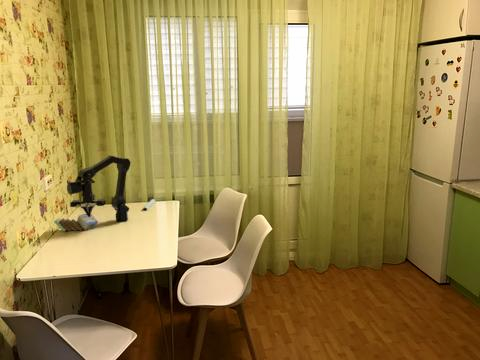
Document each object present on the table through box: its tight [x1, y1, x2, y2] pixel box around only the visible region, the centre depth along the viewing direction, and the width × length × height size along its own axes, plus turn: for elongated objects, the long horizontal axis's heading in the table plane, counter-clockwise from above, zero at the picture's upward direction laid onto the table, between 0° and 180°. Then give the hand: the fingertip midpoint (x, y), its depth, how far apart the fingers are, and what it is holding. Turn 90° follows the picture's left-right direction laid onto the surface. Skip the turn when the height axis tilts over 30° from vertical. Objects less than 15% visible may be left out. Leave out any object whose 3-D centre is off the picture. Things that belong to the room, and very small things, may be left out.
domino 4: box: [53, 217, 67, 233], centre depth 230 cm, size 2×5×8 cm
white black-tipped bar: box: [141, 198, 156, 211], centre depth 278 cm, size 23×7×3 cm, turn 178°
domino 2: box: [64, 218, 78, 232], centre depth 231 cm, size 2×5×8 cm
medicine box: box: [76, 213, 99, 231], centre depth 234 cm, size 8×4×9 cm
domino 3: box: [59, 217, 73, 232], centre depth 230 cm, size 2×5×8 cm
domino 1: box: [69, 218, 84, 232], centre depth 231 cm, size 2×5×8 cm
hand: (89, 217), depth 231 cm, fingers closed
